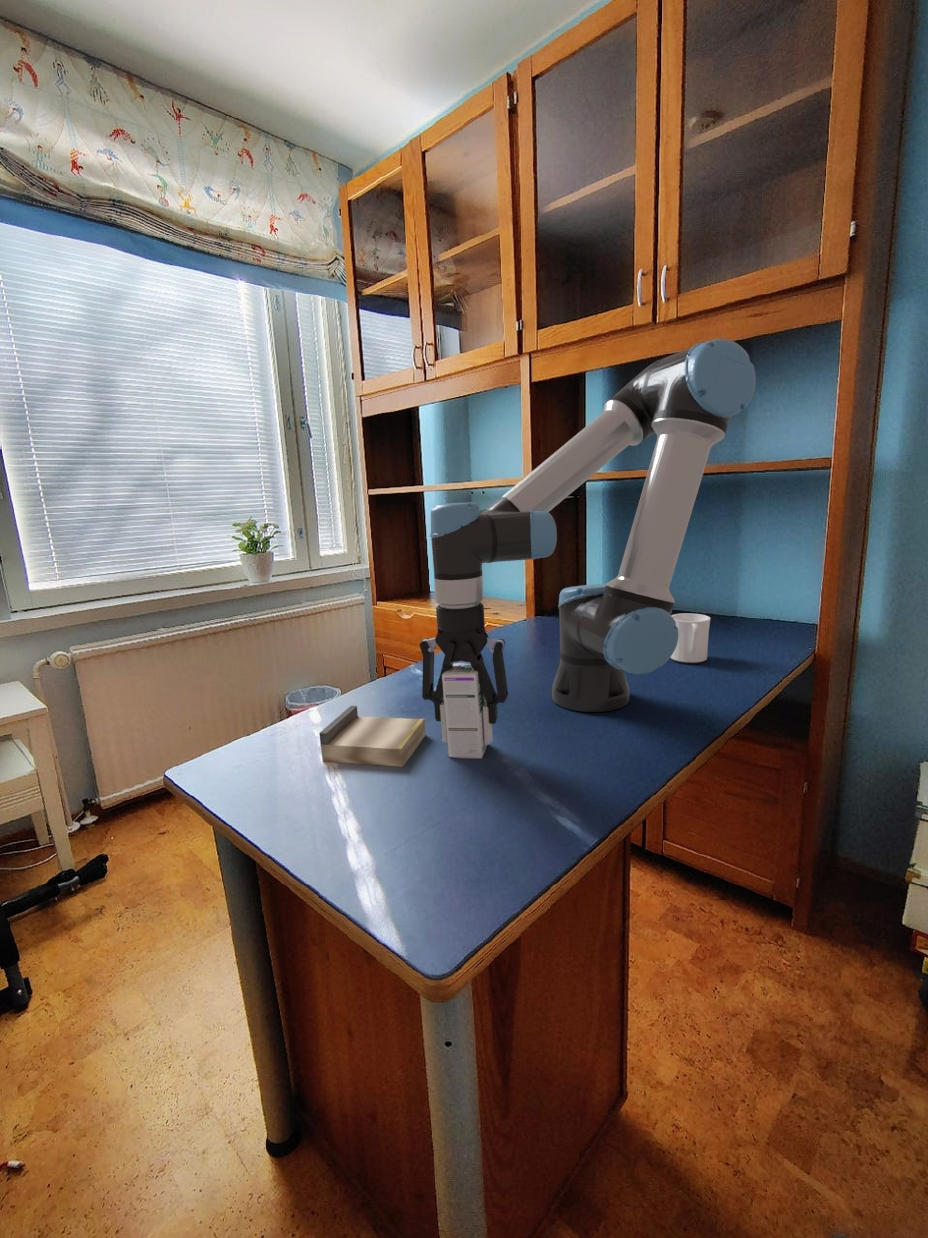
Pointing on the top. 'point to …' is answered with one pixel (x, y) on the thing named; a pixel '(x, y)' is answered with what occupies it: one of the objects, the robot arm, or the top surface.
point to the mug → (691, 638)
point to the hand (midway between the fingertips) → (467, 739)
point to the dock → (370, 739)
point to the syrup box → (464, 712)
